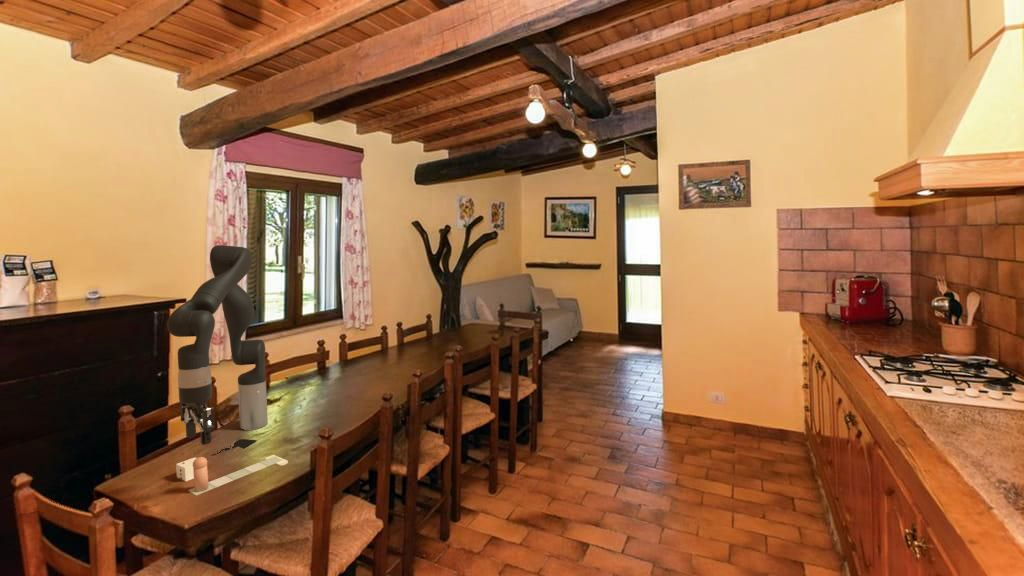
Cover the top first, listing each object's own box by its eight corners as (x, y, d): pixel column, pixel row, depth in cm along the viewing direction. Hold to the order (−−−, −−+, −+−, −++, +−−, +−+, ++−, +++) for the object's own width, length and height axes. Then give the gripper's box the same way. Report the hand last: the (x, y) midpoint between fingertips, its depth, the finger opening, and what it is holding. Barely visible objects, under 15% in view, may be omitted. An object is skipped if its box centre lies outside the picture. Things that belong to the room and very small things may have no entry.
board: (182, 492, 128) (182, 489, 128) (273, 457, 150) (273, 454, 150) (196, 501, 124) (196, 498, 124) (287, 463, 146) (287, 460, 146)
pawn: (191, 489, 128) (189, 458, 127) (205, 484, 131) (203, 453, 130) (197, 493, 126) (195, 461, 125) (211, 488, 129) (209, 456, 128)
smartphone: (206, 457, 149) (240, 438, 164) (206, 460, 149) (240, 440, 164) (226, 459, 148) (258, 440, 162) (226, 461, 148) (258, 441, 162)
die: (176, 480, 135) (175, 463, 134) (195, 473, 139) (194, 456, 139) (185, 485, 132) (184, 467, 132) (204, 477, 137) (203, 460, 136)
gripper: (223, 383, 125) (226, 441, 126) (198, 376, 133) (201, 430, 134) (192, 390, 119) (195, 451, 120) (167, 382, 126) (171, 439, 128)
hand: (198, 440), depth 127 cm, fingers open, 8 cm apart
